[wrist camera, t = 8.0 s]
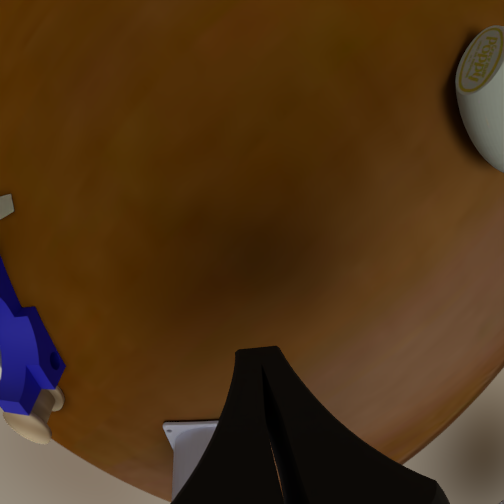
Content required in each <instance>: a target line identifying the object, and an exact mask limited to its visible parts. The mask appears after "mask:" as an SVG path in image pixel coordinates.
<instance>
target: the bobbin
mask: <svg viewBox="0 0 504 504" xmlns="http://www.w3.org/2000/svg"><path fill="white" fill-rule="evenodd" d="M64 401H65V397H64V394H63V392H62V391H61V389H60V388H59V387H58V386H56V389H55V390H51V389H41V391H40V393H39V395H38V397H37V400H36V402H35V404H34V406H33V408H32V411H31V413H30V415H29V416H27V415H20V414H14V413H8V412H3V416H4V419H5V421H6V422H7V423H8V425H9V426H10V427H11V428H12V429H13V430H14V431H16V432H17V433H18V434H20V435H21V436H23V437H24V438H26V439H28V440H30V441H32V442H35V443H39V444H47V443H49V442H50V439H51V436H52V432H51V429H50V428H49V426H48V425H47V421H48V419H49V416H50V414H51V411H58V410H60V409H61V408H62V406H63V404H64Z"/></svg>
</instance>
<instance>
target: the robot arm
mask: <svg viewBox="0 0 504 504" xmlns="http://www.w3.org/2000/svg"><path fill="white" fill-rule="evenodd" d="M163 429H164V431H165V433H166V436H167V438H168V440H169V442H170V444H171V446H172V449H173V451H174V460H173V482H172V502H171V503H170V504H450V503H449V501H448V499H447V497H446V495H445V493H444V491H443V490H442V489H441V487H440V486H439V484H438V483H437V481H435V480H433V479H430V478H428V477H426V476H423V475H421V474H419V473H417V472H415V471H412V470H410V469H408V468H406V467H404V466H403V465H401V464H399V463H397V462H395V461H393V460H392V459H390V458H388V457H387V456H385V455H384V454H382V453H380V452H379V451H377V450H376V449H374V448H373V447H371V446H370V445H368V444H367V443H365V442H364V441H363V440H361V439H360V438H359V437H357V436H356V435H355V434H354V433H352V432H351V431H350V430H349V429H347V428H346V427H345V426H344V425H343V424H342V423H341V422H339V421H338V420H337V419H336V418H335V417H334V416H333V415H332V414H331V413H330V412H329V411H328V410H327V409H326V408H325V407H324V406H323V405H322V404H321V403H320V402H319V401H318V400H317V399H316V397H315V396H314V395H313V394H312V393H311V392H310V390H309V389H308V388H307V387H306V386H305V384H304V383H303V382H302V381H301V380H300V378H299V377H298V376H297V374H296V373H295V371H294V370H293V369H292V367H291V366H290V364H289V363H288V361H287V360H286V358H285V357H284V355H283V353H282V352H281V350H280V348H279V347H277V346H270V347H260V348H250V349H239V350H238V351H236V352H235V367H234V373H233V377H232V382H231V385H230V389H229V392H228V396H227V399H226V402H225V405H224V408H223V411H222V413H221V416H220V419H219V421H200V422H165V423H164V424H163ZM269 439H270V440H269ZM270 443H271V445H270ZM271 447H272V449H271ZM272 450H273V454H274V457H275V461H276V464H277V468H278V472H279V476H280V481H281V487H282V492H283V496H282V492H281V488H280V484H279V480H278V475H277V471H276V467H275V463H274V458H273V454H272ZM283 498H284V499H283ZM499 504H504V500H503V501H501V502H500V503H499Z"/></svg>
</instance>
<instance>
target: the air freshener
mask: <svg viewBox="0 0 504 504" xmlns="http://www.w3.org/2000/svg"><path fill="white" fill-rule="evenodd" d="M455 83H456V95H457V102H458V106H459V110H460V114H461V117H462V120H463V123H464V126H465V128H466V130H467V133H468V135H469V137H470V139H471V141H472V142H473V144H474V146H475V147H476V149H477V150H478V151H479V153H480V154H481V155H482V156H483V158H484V159H485V160H486V161H487V162H488V163H490V164H491V165H492V166H493V167H494V168H496V169H498V170H499V171H501V172H503V173H504V27H502V26H491V27H488V28H486V29H484V30H483V31H482V32H481V33H479V34H478V35H477V36H476V37H475V38H474V39H473V41H472V42H471V43H470V45H469V46H468V47H467V49H466V51H465V52H464V54H463V56H462V58H461V60H460V63H459V65H458V69H457V72H456V79H455Z"/></svg>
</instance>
